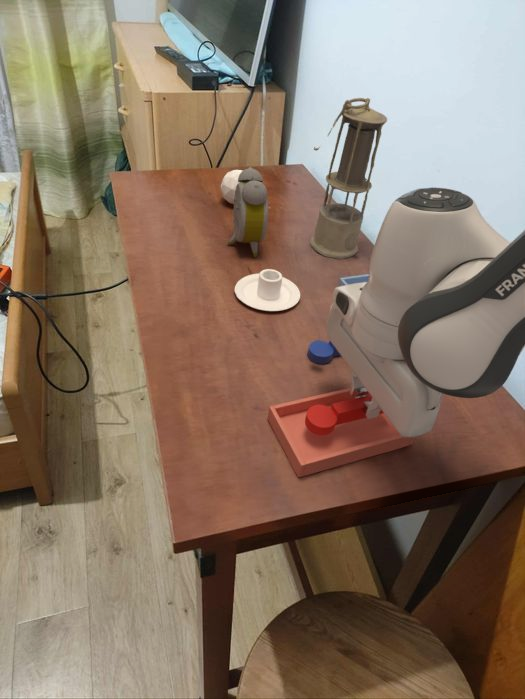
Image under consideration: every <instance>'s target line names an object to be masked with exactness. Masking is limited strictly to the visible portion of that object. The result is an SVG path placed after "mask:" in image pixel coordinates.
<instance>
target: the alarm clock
mask: <svg viewBox="0 0 525 699" xmlns="http://www.w3.org/2000/svg"><path fill="white" fill-rule="evenodd" d="M238 182H240V183H238V184H237V186H236V190H235V197H234V204H233V231H234V232H233V234H232V235H231V237H230V238H229V239H228V241H227V243H226V244H227V245H228V246H231V245H233V244H234V243H236V242H238V243H244V244H245V243H247V244H248V243H249V245H250V249H251V251H252V252H251V253H252V255H253V258H255V257H258V252H259V251H258V248H259V243H262V242H263V241H264V240H265V238H266V235H267V229H268V221H269V220H268V219H269V199H268V189H267V187H266V185H265V184H264V183H263V176H262V174H261V173H260V171H258V170H257V169H255V168H253V167H252V166H249V167H248V168H245V169H243V171H242V172H241V173H240V175H239V178H238ZM241 182H242V183H241Z"/></svg>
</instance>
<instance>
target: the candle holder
mask: <svg viewBox="0 0 525 699" xmlns="http://www.w3.org/2000/svg"><path fill="white" fill-rule="evenodd" d="M233 291H234V293H235V296H236V298H237V299H238V300H239V301H241V302H242V303H243V304H245V305H246V306H248V307H251V308H253V309H256V310H260V311H265V312H279V311H284V310H288V309H290V308H291V309H292V308H293V307H294V306H296V305H297V304H298V302H299V301H300V299H301V291H300V289H299V288H298V286H297V285H296V284H295V283H294V282H292V280H290V279H288V278H286V277H284V276H283V274H282V273H281V272H280V271H278V270H276V269H272V268H266V269H263V270H261V271H260V272H259V273H253V274H249V275H245V276H243V277H241V278H240V279H238V281H237V282H236V284H235V286H234V290H233Z"/></svg>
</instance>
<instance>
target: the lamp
mask: <svg viewBox="0 0 525 699" xmlns="http://www.w3.org/2000/svg"><path fill="white" fill-rule="evenodd" d="M357 102H363V103H362V104H358V105H354V104H353V105H352V103H357ZM370 103H371V98H369V97H367V98H364V97H355V98H351V99H346V100H344V103H343V105H342V109H341V110H340V112H339V114H338V115H337V117H335V120H334V122H333V123H332V127H331V129H330V130H329V132H328V133H327V137H329V135H330V134H331V132H332V130H333V128H334V127H335V126H336V124H337V122H338V121H339V119H340V118H341V122H340V127H339V130H338V133H337V138H336V142H335V145H334V146H335V147H334V151H333V153H332V158H331V161H330V165H329V170H328V174H327V175H325V181H326V183H327V185H326V188H325V193H324V199H323V204H322V206H321V207H320V208H319V211H318V217H317V220H316V221H317V222H316V225H315V230H314V234H313V235H312V237H311V239H310V241H309V244H310V246H311V247H312V248H313V250H315V251H316V252H317V253H318V254H321V255H322V256H324V257H326V258H327V257H328V258H331V259H336V260H337V259H338V260H344V259H348V258H352V257H353V256H356V254H357V252H358V250H359V248H358V241H359V238H360V233H361V230H362V229H361V228H362V224H363V220H364V213H365V209H366V206H367V201H368V194H369V193H370V190H371V189H372V187H373V185H372V182H371V177H372V173H373V169H374V167H375V161H376V155H377V151H378V148H379V144H380V139H381V137H382V129H383V126H384V125H385V124H386V123H387V122H388V117H387V116H386V115H385V114H383V113H381V112H379V111H377V110H375V109H374V108H371V107H370ZM341 116H342V117H341ZM345 124H347V133H346V135H345V139H344V144H343V148H342V152H341V155H340V161H339V165H338V169H337V171H333V172H332V169H333V167H334V162H335V158H336V154H337V151H338V148H339V144H340V140H341V136H342V132H343V129H344V125H345ZM374 140H375V145H374V148H373V144H374ZM320 148H321V146H319V147H316V146H314V147H313V151H319V149H320ZM372 149H373V151H372ZM371 152H372V153H371ZM371 154H372V155H371ZM370 157H371V158H370ZM369 162H370V167H369V173H368V175H367V176H368V177H367V178H366V173H367V170H368V166H369ZM330 187H331V188H330ZM335 190H339V191H340V192H343V193H344V192H345V193H346V197H345V201H344V203H339V202H332V198H333V193H334V191H335ZM350 193H351V194H354V198H353V203H352V206H351V205H350V204H348V200H349V196H350ZM363 193H365V195H364V200H363V204H362V206H361V211H360V209H357V208H356V204H357V200H358V196H359V194H363Z"/></svg>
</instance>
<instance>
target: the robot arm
mask: <svg viewBox="0 0 525 699" xmlns="http://www.w3.org/2000/svg"><path fill="white" fill-rule="evenodd" d="M368 269H369V273H368V274H369V278H368V281H367V282H362V283H355V284H349V285H344V286H340V287H338V286H336V287H335V288H334V289H333V293H332V300H333V302H332V303H331V305H330V307H329V308H330V309H329V312H328V316H327V320H326V327H325V328H326V329H325V330H326V335H327V338H328V340H329V341H331V343H332V344H333V345H334V347H335V348H336V349H337V351H338V352H339V353H340V355H341V357H342V359H343V360H344V362H345V363H346V364H347V366H348V368H350V371H349V374H350V382H351V388H352V389H351V392H350V394H351V396H352V397H353V398H354V399H356V398H360V397H364V396H367V394H368V392H369V393H370V395H371V396H372V401H371V402H369V401H368V402H364V405H363V409H362V411H363V412H364V414H365V415H366V417H367V418H368V419H370V418H374V417H377V416H378V415H379V413H380V410H382V411H383V412H384V414H385V415H386V416H387V418H388V419H389V420H390V422H391V423H392V424H393V426H394V427H395V428H396V430H397V431H398V432H399V434H400V435H401V436H402V437H405V438H410V437H414V438H416V437H420V436H422V435H425V434H428V433H429V432H431V430H433V428H434V426H435V422H436V420H437V417H438V413H439V411H440V407H441V403H442V399H443V397H444V395H446V396H449V397H450V396H451V397H454V398H462V399H478V398H482V397H487V396H489V395H492V394H494V393H495V392H496V391H498V390H499V389H500V388H502V387H503V385H504V384H505V383H506V381H507V380H508V379H509V377H510V375H511V373H512V371H513V370H514V368H515V366H516V363H517V361H518V359H519V357H520V355H521V354H522V352H523V351H524V348H525V229H523V231H522V232H521V233H519V234H518V235H517V236H516V237H515V238H514V239H513V240H512V241H509V240H508V239H507V238H505V237H504V236H503V235H501V234H500V233H499V232H498V231H497V230H495V228H493V227H492V226H491V225H490V224H489V223H488V222H487V220H486V219H485V218H484V217H483V216H482V214H481V212H480V209H479V208H478V205H477V204H476V202H475V200H474V199H473V198H472V197H470V196H469V195H468V194H465V193H462V192H461V191H460V190H459V191H458V190H455V189H452V188H447V187H446V188H445V187H423V188H422V187H421V188H417V189H413V190H410V191H408V192H406V193H404V194H402V195H401V196H399V197H397V198H396V199H395V200H394V201H393V202H392V203H391V205H390V207H389V208H388V210H387V212H386V214H385V216H384V219H383V221H382V223H381V225H380V228H379V232H378V234H377V236H376V239H375V243H374V245H373V248H372V252H371V255H370V258H369V264H368Z"/></svg>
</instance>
